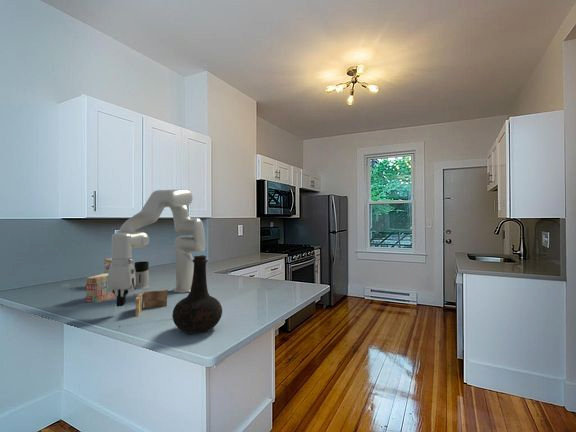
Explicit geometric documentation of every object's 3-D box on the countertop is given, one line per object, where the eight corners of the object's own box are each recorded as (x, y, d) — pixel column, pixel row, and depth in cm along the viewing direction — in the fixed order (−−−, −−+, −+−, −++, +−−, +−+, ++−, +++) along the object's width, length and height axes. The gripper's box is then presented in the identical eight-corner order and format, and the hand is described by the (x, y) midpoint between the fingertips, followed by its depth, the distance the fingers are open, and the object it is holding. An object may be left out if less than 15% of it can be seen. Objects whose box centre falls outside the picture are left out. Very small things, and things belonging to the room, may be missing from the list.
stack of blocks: (117, 292, 173) (118, 270, 173) (127, 292, 171) (127, 270, 171) (85, 302, 152) (86, 277, 152) (96, 303, 150) (97, 277, 150)
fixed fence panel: (166, 305, 145) (167, 289, 145) (167, 306, 143) (167, 290, 144) (138, 308, 140) (139, 292, 140) (138, 310, 138) (139, 292, 138)
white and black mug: (152, 286, 187) (152, 261, 187) (136, 291, 173) (136, 265, 173) (140, 285, 189) (140, 261, 189) (122, 290, 175) (123, 264, 175)
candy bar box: (103, 285, 187) (103, 258, 187) (111, 284, 191) (112, 258, 191) (113, 288, 181) (113, 260, 181) (121, 286, 185) (121, 259, 185)
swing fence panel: (138, 309, 138) (139, 292, 138) (142, 308, 139) (142, 292, 139) (134, 316, 128) (135, 298, 128) (139, 316, 129) (139, 298, 129)
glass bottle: (161, 334, 111) (162, 257, 111) (193, 319, 128) (194, 252, 128) (202, 342, 105) (204, 259, 105) (230, 325, 122) (231, 254, 122)
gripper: (143, 261, 133) (142, 303, 133) (110, 260, 134) (109, 302, 134) (133, 263, 126) (133, 308, 126) (98, 263, 127) (97, 307, 127)
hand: (120, 305), depth 130 cm, fingers closed
